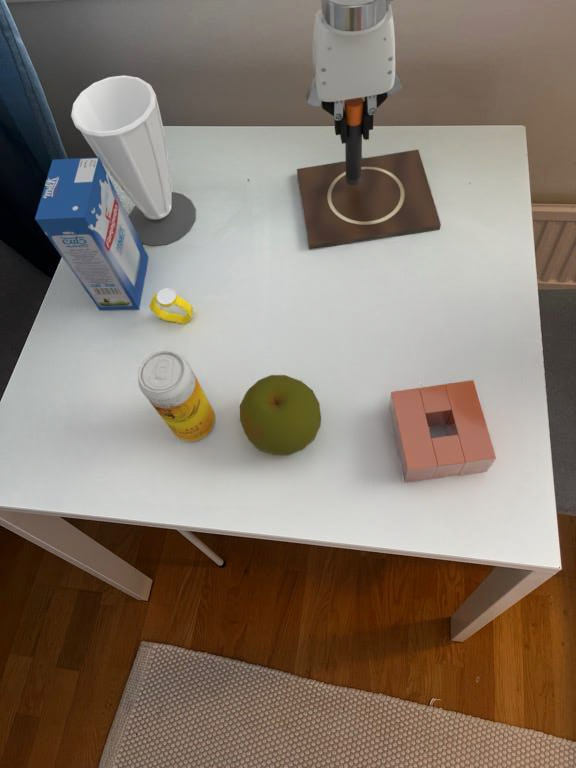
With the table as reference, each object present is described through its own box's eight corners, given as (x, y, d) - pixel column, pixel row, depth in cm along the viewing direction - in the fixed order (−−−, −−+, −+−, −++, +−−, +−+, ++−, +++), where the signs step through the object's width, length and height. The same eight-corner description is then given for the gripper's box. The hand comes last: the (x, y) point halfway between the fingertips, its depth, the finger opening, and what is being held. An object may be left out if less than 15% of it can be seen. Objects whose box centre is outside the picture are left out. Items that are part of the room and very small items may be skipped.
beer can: (167, 441, 77) (128, 393, 64) (178, 399, 80) (142, 345, 66) (211, 446, 76) (180, 398, 63) (220, 404, 79) (193, 349, 65)
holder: (466, 396, 75) (473, 379, 71) (487, 471, 71) (496, 458, 66) (388, 408, 76) (390, 391, 71) (404, 482, 71) (407, 470, 67)
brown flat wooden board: (417, 155, 95) (418, 148, 94) (439, 229, 88) (441, 223, 87) (297, 174, 96) (296, 167, 95) (309, 249, 89) (308, 243, 87)
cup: (168, 256, 91) (118, 145, 72) (113, 230, 94) (51, 118, 75) (210, 206, 95) (173, 88, 75) (155, 183, 98) (107, 65, 79)
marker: (360, 172, 91) (361, 93, 78) (362, 184, 90) (364, 105, 77) (344, 175, 91) (343, 96, 79) (346, 186, 90) (346, 108, 77)
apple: (338, 430, 75) (335, 394, 65) (284, 482, 73) (274, 453, 63) (284, 383, 79) (275, 342, 69) (232, 431, 77) (215, 396, 67)
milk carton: (110, 258, 92) (52, 159, 74) (148, 256, 91) (99, 156, 73) (99, 311, 88) (34, 219, 70) (139, 310, 87) (83, 217, 69)
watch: (154, 324, 86) (141, 301, 80) (160, 308, 87) (148, 285, 81) (193, 329, 84) (182, 306, 79) (198, 313, 86) (188, 290, 80)
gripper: (417, -28, 68) (404, 108, 84) (281, -5, 68) (294, 126, 85) (431, 10, 64) (415, 144, 81) (288, 34, 65) (301, 162, 81)
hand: (353, 134), depth 83 cm, fingers closed on marker, 2 cm apart
